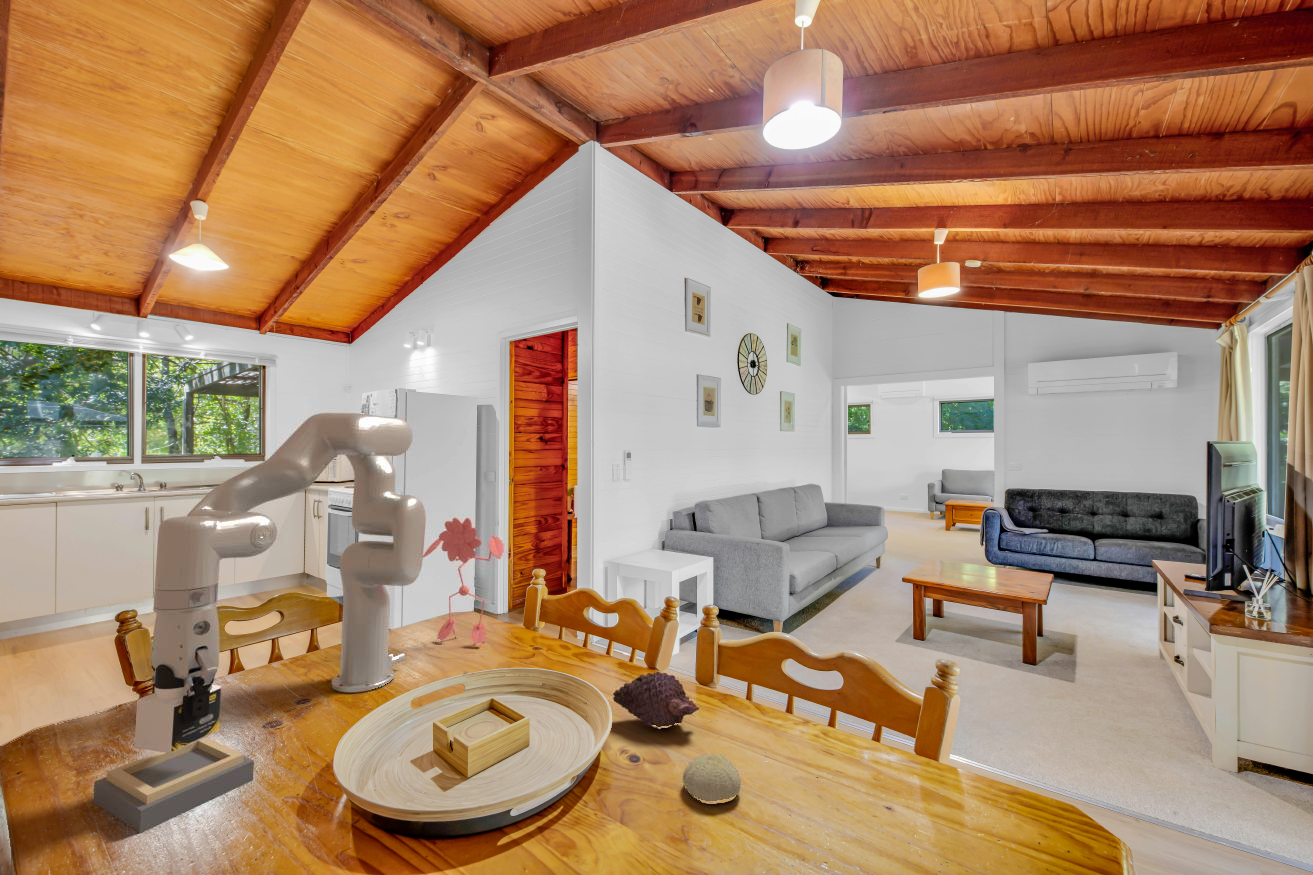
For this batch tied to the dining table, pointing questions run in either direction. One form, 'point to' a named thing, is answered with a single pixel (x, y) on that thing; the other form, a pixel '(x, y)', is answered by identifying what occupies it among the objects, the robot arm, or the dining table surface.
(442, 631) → the flower headed figure
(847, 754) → the dining table surface
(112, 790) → the pedestal
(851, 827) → the dining table surface
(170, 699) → the medicine bottle
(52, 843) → the dining table surface
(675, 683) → the purple conch shell
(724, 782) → the sea urchin shell
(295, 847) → the dining table surface
